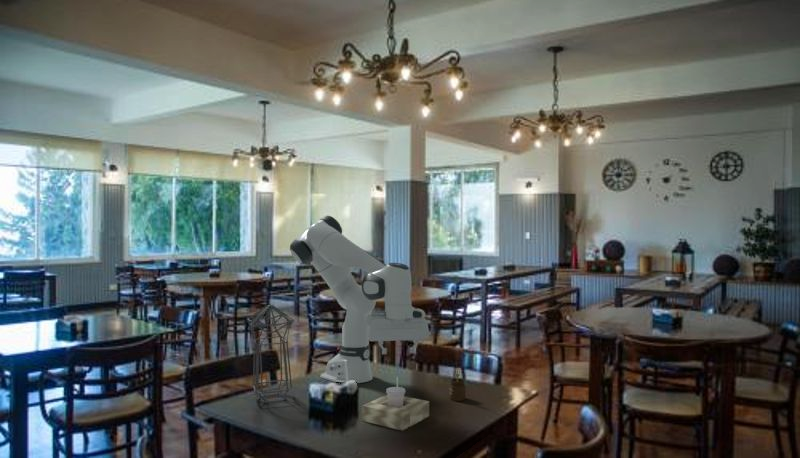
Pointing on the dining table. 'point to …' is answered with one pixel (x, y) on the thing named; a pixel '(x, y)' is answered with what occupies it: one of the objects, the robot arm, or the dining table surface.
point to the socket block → (395, 412)
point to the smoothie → (395, 396)
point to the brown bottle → (457, 388)
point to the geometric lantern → (270, 344)
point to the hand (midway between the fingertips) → (398, 353)
